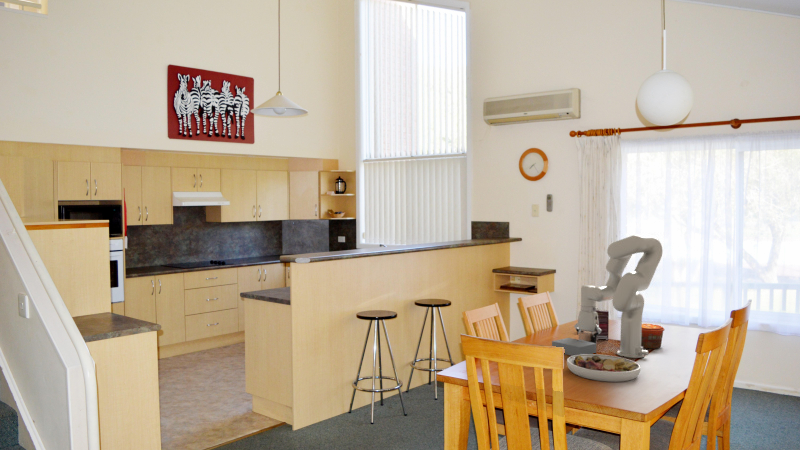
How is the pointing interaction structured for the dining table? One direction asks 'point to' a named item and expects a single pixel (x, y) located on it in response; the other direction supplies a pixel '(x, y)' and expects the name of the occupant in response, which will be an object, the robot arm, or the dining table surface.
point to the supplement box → (603, 324)
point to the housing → (585, 336)
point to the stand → (575, 346)
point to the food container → (651, 336)
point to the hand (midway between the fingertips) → (587, 342)
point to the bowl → (603, 367)
